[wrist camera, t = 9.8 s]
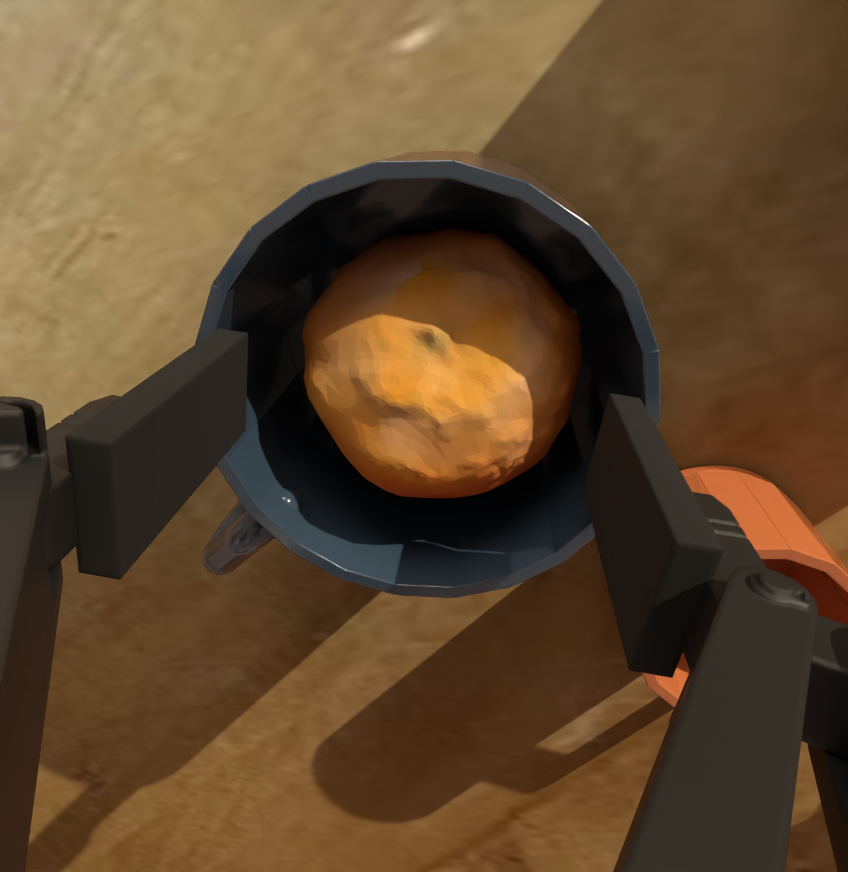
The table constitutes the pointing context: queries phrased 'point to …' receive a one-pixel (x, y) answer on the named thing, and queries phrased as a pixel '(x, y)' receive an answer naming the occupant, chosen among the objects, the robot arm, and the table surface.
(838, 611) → the small cup
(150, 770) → the table surface
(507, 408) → the fruit
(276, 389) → the big cup
